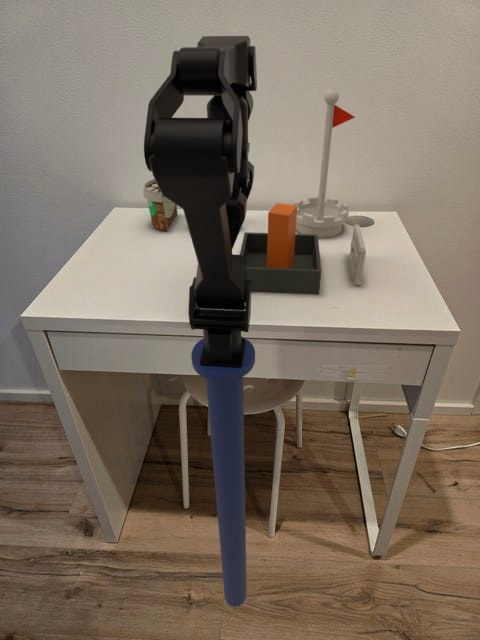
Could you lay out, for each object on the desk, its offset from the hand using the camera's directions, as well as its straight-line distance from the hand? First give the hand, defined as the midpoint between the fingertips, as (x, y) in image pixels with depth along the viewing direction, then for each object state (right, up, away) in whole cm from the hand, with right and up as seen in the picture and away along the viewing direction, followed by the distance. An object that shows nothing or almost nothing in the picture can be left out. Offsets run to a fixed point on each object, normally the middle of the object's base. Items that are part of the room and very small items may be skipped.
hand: (231, 238), depth 72 cm
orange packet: (+10, -3, +16) cm, 19 cm away
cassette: (+25, -3, +17) cm, 30 cm away
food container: (-18, +11, +37) cm, 43 cm away
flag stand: (+20, +9, +34) cm, 40 cm away
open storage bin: (+9, -4, +17) cm, 19 cm away
